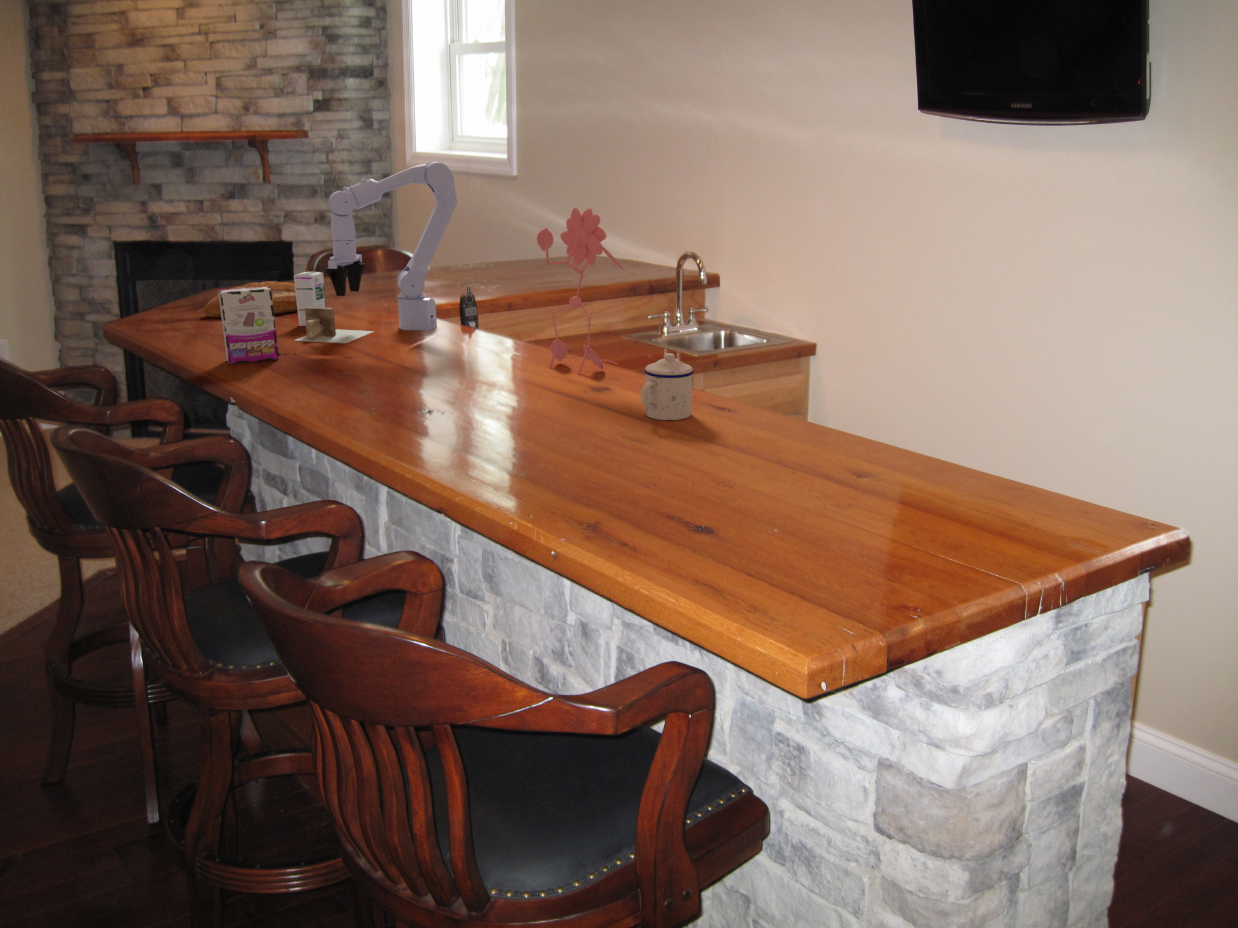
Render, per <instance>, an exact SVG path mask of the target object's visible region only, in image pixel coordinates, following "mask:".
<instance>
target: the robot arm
mask: <svg viewBox="0 0 1238 928" xmlns="http://www.w3.org/2000/svg"><path fill="white" fill-rule="evenodd" d="M409 184H418V185H419V184H420V185H427V186H428V188H430V189H431V192H432V195H433V196H434V199H435V202H436V203H435V205H434V207H433V209H432V212H431V214H430V217H429V219H428V221H427V224H426V225H425V227H424V230H423V232H422V234H421V236H420V239H419V241H418V242H417V246H416V247H415V249H414V252H413V254H412V256H411V258H410V260H409V261H408V262H407V264H406V267H404V269H403V270H401V271H400V272H399V273H398V275H397V279H396V284H397V286H398V288H399V289H400V292H399V294H397V309H398V310H397V311H398V325H399V329H400V330H403V331H427V332H428V331H431V330H433V329H435V328H437V327H438V325H437V324H438V323H437V305H436V301H435V299H434V298H431V297H426V293H424V291H425V286H426V285H425V284H426V283H425V281H426V277H427V275H428V272H429V267H430V264H431V262H432V259H433V257H434V256H435V253H436V251H437V248H438V246H439V244H440V242H441V241H442V237H443V236H444V233H445V231H446V229H447V228H448V224H449V222H450V220H451V219H452V216H453V214H454V212H455V209H456V207H457V203H458V201H457V194H456V186H455V177H454V175H453V173H452V171H451V170H450V167H448V166H447V164H445V163H443V162H438V161H430V162H428V163H426V164H425V163H422V164H417V165H414V166H410V167H408V168H406V169H404V170H402V171H399V172H397V173H395V174H392V175H389V176H388V177H385V178H383V179H381V180H378V181H377V180H374V179H372V178H369V179H367V178H366V177H365V178H363V179H360V182H359V183H356V184H353V185H350V186H347V185H346V186H343V187H342V188H343V191H342V190H338V191H334V192H332V193H331V195H330V196H329V199H328V203H327V204H328V207H329V209H330V210H331V212H330V220H331V221H330V231H331V243H332V252H333V253H332V254H333V256H330V257H329V260H327V266H328V267H326V268H325V274H327V275H328V277H329V279H330V280H331V284H332V286H333V289H334V292H335V294H336V295H335V296H337V297H345V296H346V292H347V282H348V286H349V287H348V289H349V290H350V292H351V293H353V292H354V293H356V292H360V286H361V281H362V277H363V273H364V270H365V268H366V263H365V262H363V255H362V254H357V245H356V243H357V242H356V231H355V230H356V229H355V222H354V220H353V218H354V217H353V210H354V209H355V210H359V209H362V208H365V207H367V206H369V205H372V204H374V203H377V202H379V201H381V199H382V197H383V194H385V193H387V192H391V191H393V190H396V189H399V188H402V187H403V186H407V185H409ZM347 280H348V281H347Z"/></svg>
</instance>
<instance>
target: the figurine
mask: <svg viewBox="0 0 1238 928" xmlns="http://www.w3.org/2000/svg"><path fill="white" fill-rule="evenodd" d="M565 223H566V225H565V226H566V230H565V231H563V232H561V234H560V239H561V241H562V243H563V244H564V245H566V246H567V247H566V254H567V258H566V259H565V260H564V261H550V259H549V258H550V257H549V255H550V254H549V249H550V248H552V247H553V244H554V236H553V233H552V232H551V231H550V230H549V228H547V227H545V228H544V229H541V230H540V231H539V232H538V233H537V236H536V242H537V245H538V246H539V248H540V249H541V251H543V252H545V257H546V258H545V260H546V265H563V264H564V266H569V268H571V269H572V270H574V271H575V272H576V273H578V274H580V278H579V281H578V285H577V290H576V294H575V296H572V297H570V298H569V300H568V301H569V302H568V303H569V304H566V305H565V306H562V307H561V308H558V309H556V310H554V311H552V312H551V315H552V316H551V317H552V322H553V327H554V332H555V340H553V341H552V343H551V345H550V352H551V354H552V355H551V356H552V357H551V360H550V362H549V366H548V368H552V366H553V363H554V360H555V359H556V360H557V361H558V362H559V363H561V362H562V361H564V359H567V358H569V359H570V358H571V359H572V358H573V359H574V358H577V359H582V360H581V362H580V366H579V369H578V373H577V374H581V373H582V370H583V367H584V364H585V361H586V359H587V358H588V359H589V360H590V361H591V362H592V363H593V364H595V366H597V368H599V369H601V370H604V365H603V362H602V361H604V362H605V361H606V362H609V363H613V364H616V365H618V363H616V362H614V361H611V360H608V359H605V358H600V356H599V355H598V354H597V353H596V351H594V350H593V349H592V348H591V347H590V333H591V316H590V315H589V313H588V312H587V310H586V309H585V307H584V306H583V304H582V299H581V298H580V297H579V292H580V289H581V285H582V282H583V278H584V272H585V270H586V269H587V267H588V266H594V264H595V263H596V259H597V256H601V255H602V254H603V253H604V254H605V255H606V256H607V257H608V258H609V259H610V260H611V261H612V262H613V263H614V264H615V265H616V266H618V268H620V269H621V270H623V269H624V268H623V266H622V265H621V264H620V263H619V261H618V260H617V259H616V258H615V257H614V256H613V255H612V253H610V251H608V249H606V248H605V247H604V246H603V245H602V243H601V242H603V241H604V240H606V238H607V233H606V231H605V230H604V228H601V227H600V226H599V224H600V223H601V217H600V216H599V215H598V214H593V210H592V208H586V210H584V211H583V212H582V214H581V212H580V210H579V209H578V208H577V207H573V209H572V210H571V213H570V218H567V219H566V222H565ZM571 257H573V264H574V265H573V264H572V263H570V262H569V261H570V260H571ZM585 260H586V263H585V264H584V266H583V267H582V269H580V268H578V267H577V266H580V265H581V264H582V263H583V262H584V261H585ZM568 307H571V308H572V309H579V308H581V309H582V310H583V312H584V313H585V314H586V317H588V326H587V327H588V329H587V331H588V332H587V333H588V334H587V345H586V344H584V345H583V346H582V350H583V351H584V354H583V356H567V353H568V350H567V349H568V348H567V346H566V345H565V343H564V342H563V341H562V340H560V339H559V337H558V335H559V334H558V329H557V325H556V320H555V315H554V314H555V313H557V312H559V311H562V310H563V309H566V308H568ZM595 377H596V378H599V377H601V375H596V376H595Z"/></svg>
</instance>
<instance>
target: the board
mask: <svg viewBox="0 0 1238 928" xmlns="http://www.w3.org/2000/svg"><path fill="white" fill-rule="evenodd" d="M335 331H336V336H333V337H328V336H325V335H324V336H322V337H319V338H317V339H314V340H307V335H305V336H302V337H300V338H296V339H294V340H293V341H294V342H295V341H297V342H311V343H312V342H314V343H315V342H316V343H331V344H347V343H350V342H352V341H356V340H357V339H360V338H362V337H365V336H367V335H370V334H372V333H374V332H375V330H373V331H372V330H359V329H358V330H357V329H355V330H354V329H338V328H337V329H336V328H335Z"/></svg>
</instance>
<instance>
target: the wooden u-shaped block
mask: <svg viewBox="0 0 1238 928" xmlns="http://www.w3.org/2000/svg"><path fill="white" fill-rule="evenodd" d="M305 330H306V336H307V340H314V339H317V338H319V337H322V336H324V335H325V327H324V324H320V320H319V319H311V320H308V321H306V326H305Z"/></svg>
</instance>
